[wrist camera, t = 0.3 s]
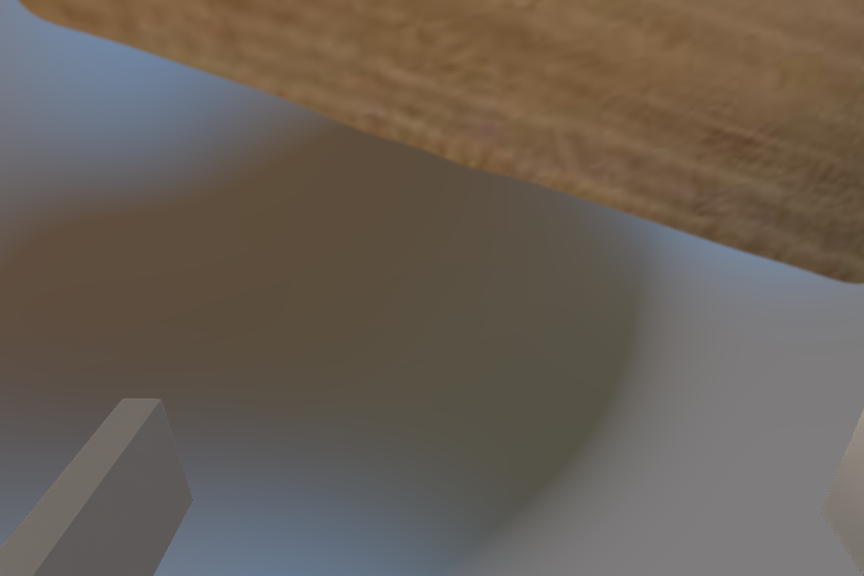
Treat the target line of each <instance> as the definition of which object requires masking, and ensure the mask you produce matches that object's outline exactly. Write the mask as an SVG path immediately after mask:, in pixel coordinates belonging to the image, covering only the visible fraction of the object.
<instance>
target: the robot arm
mask: <svg viewBox="0 0 864 576" xmlns="http://www.w3.org/2000/svg"><path fill="white" fill-rule="evenodd" d="M192 501H193V499H192V495H191V492H190V489H189V486H188V483H187V480H186V476H185V473H184V470H183V467H182V463H181V460H180V457H179V454H178V451H177V448H176V444H175V441H174V438H173V435H172V432H171V428H170V425H169V422H168V419H167V416H166V412H165V409H164V406H163V403H162V400H161V399H122V400H121V402H120V403H119V404H118V405H117V406H116V408H115V409H114V410H113V411H112V413H111V414H110V415H109V416H108V417H107V419H106V420H105V421H104V422H103V424H102V425H101V426H100V427H99V429H98V430H97V431H96V432H95V433H94V435H93V436H92V437H91V438H90V439H89V441H88V442H87V443H86V444H85V446H84V447H83V448H82V449H81V450H80V452H79V453H78V454H77V455H76V457H75V458H74V459H73V460H72V461H71V463H70V464H69V465H68V466H67V468H66V469H65V470H64V471H63V473H62V474H61V475H60V476H59V477H58V479H57V480H56V481H55V482H54V483H53V485H52V486H51V487H50V488H49V490H48V491H47V492H46V493H45V495H44V496H43V497H42V498H41V499H40V501H39V502H38V503H37V504H36V506H35V507H34V508H33V509H32V510H31V512H30V513H29V514H28V515H27V517H26V518H25V519H24V520H23V521H22V523H21V524H20V525H19V526H18V528H17V529H16V530H15V531H14V532H13V533H12V535H11V536H10V537H9V538H8V540H7V541H6V542H5V543H4V545H3V546H2V547H1V548H0V576H153V575H154V573H155V571H156V569H157V567H158V566H159V564H160V562H161V560H162V558H163V556H164V553H165V552H166V550H167V548H168V546H169V544H170V542H171V541H172V539H173V537H174V535H175V533H176V531H177V529H178V527H179V525H180V523H181V522H182V520H183V518H184V516H185V514H186V512H187V510H188V508H189V506H190V504H191V502H192ZM821 513H822V514H823V516H824V517H825V519H826V520H827V522H828V523H829V525H830V526H831V528H832V529H833V531H834V532H835V534H836V535H837V537H838V538H839V540H840V541H841V542H842V544H843V546H844V547H845V549H846V550H847V551H848V553H849V554H850V556H851V557H852V559H853V560H854V562H855V563H856V565H857V566H858V567H859V569H860V570H861V572H862V574H863V575H864V410H863V412H862V414H861V417H860V419H859V422H858V424H857V426H856V429H855V431H854V434H853V436H852V438H851V441H850V443H849V446H848V448H847V450H846V453H845V455H844V458H843V460H842V462H841V465H840V467H839V470H838V472H837V474H836V477H835V479H834V482H833V484H832V487H831V489H830V491H829V494H828V496H827V498H826V501H825V503H824V506H823V508H822V510H821Z"/></svg>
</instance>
